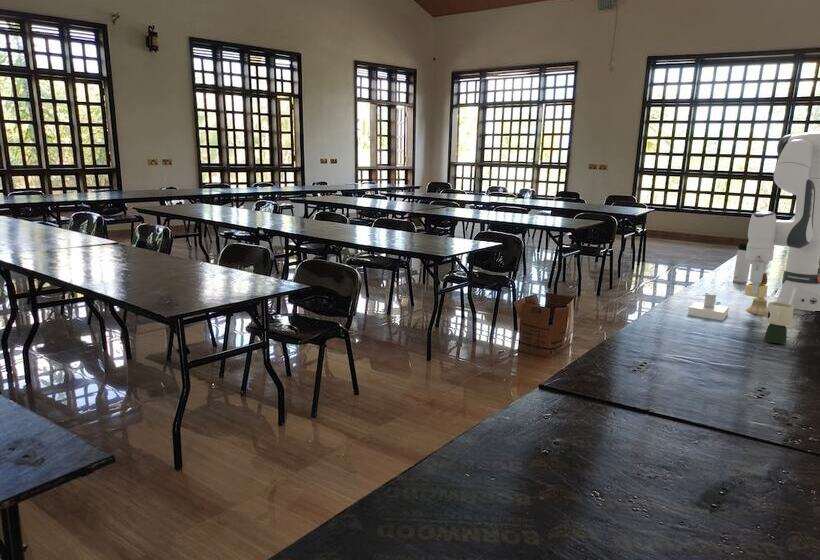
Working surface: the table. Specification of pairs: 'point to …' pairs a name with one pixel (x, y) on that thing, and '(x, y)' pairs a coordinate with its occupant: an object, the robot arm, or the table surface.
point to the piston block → (708, 308)
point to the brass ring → (761, 290)
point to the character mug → (778, 321)
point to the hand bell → (759, 302)
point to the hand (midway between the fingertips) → (755, 291)
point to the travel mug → (741, 266)
